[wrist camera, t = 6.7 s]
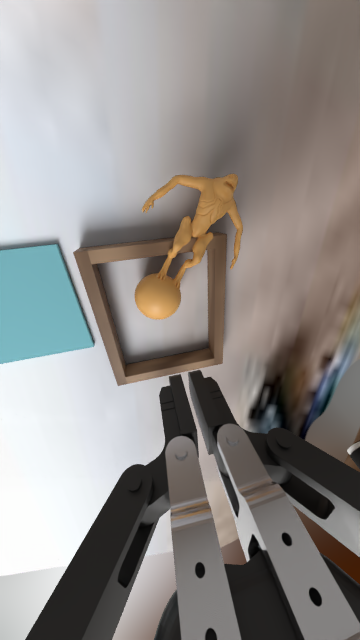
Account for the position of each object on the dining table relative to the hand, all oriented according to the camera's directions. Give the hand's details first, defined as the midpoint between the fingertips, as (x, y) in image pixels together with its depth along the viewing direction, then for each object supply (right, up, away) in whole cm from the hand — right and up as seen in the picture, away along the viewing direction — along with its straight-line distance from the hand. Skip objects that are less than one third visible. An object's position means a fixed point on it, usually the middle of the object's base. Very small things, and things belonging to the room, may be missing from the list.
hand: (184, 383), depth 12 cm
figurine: (-3, +5, +7) cm, 10 cm away
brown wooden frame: (-2, +5, +9) cm, 10 cm away
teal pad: (-14, +5, +6) cm, 16 cm away
